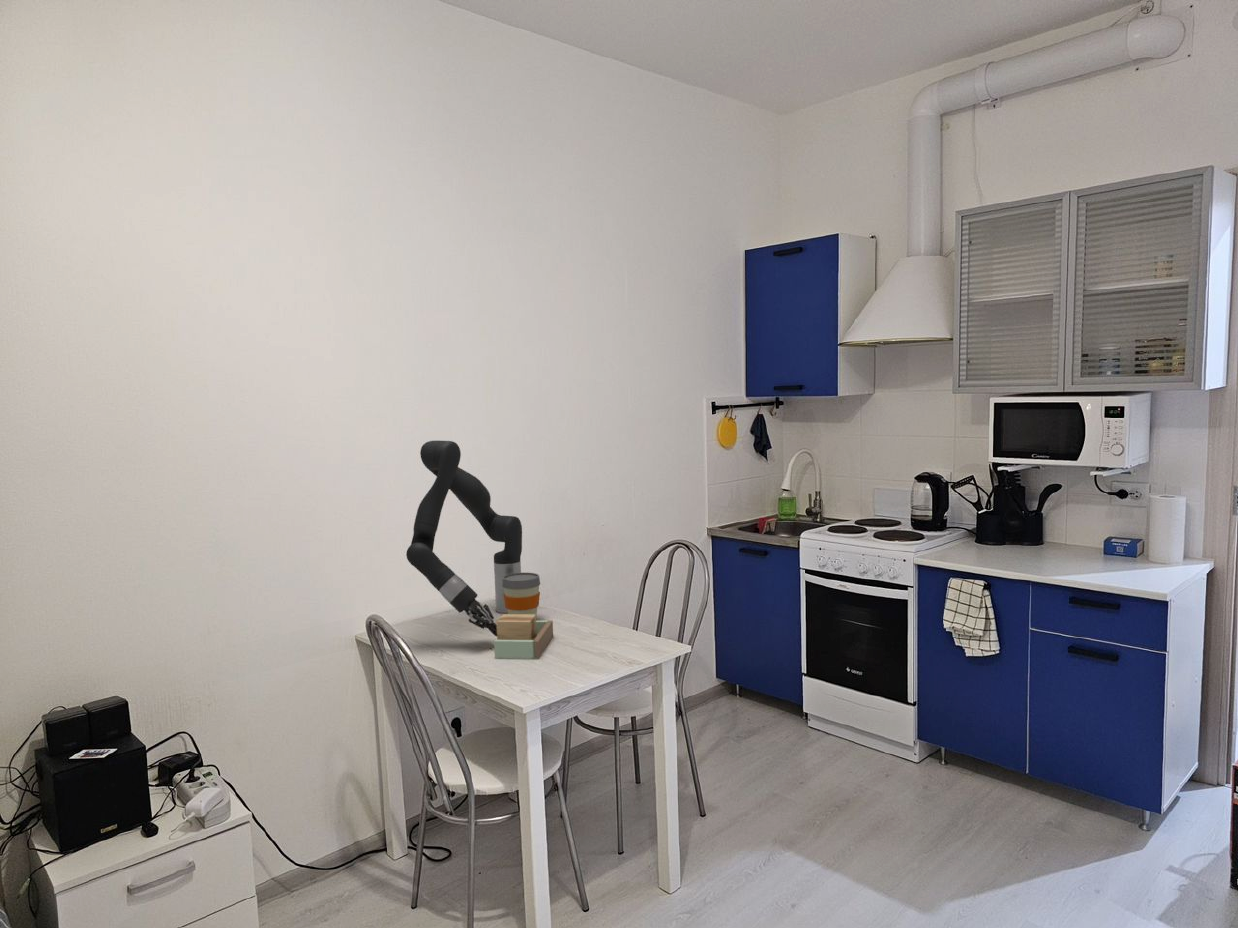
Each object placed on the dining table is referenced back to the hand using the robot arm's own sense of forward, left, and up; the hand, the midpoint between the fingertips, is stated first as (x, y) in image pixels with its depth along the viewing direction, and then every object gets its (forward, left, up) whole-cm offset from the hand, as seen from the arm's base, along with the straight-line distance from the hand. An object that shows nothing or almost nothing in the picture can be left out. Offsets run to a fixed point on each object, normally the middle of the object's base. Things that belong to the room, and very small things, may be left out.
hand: (499, 633), depth 244 cm
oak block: (0, +6, -4) cm, 7 cm away
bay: (0, +7, -4) cm, 8 cm away
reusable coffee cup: (-27, 0, -4) cm, 27 cm away
